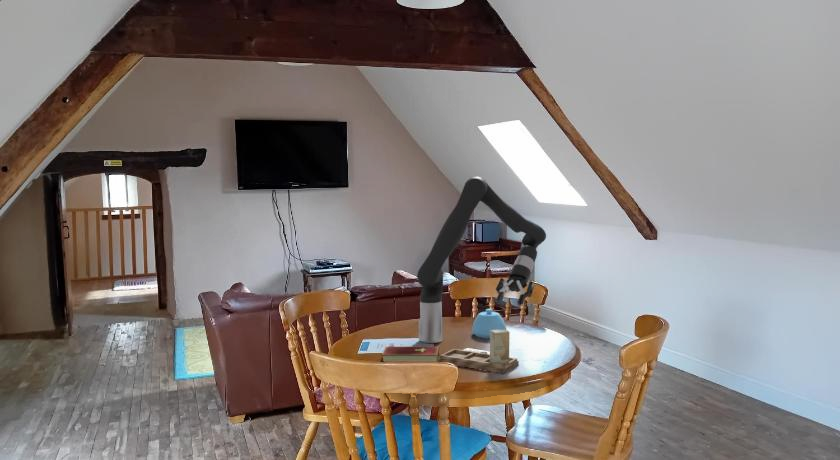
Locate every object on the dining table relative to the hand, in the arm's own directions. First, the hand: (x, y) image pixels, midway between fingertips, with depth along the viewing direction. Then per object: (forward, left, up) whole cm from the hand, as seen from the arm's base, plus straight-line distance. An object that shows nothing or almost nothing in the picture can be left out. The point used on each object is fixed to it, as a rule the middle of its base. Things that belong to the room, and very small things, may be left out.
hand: (509, 303), depth 244 cm
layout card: (-14, 0, -22) cm, 26 cm away
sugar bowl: (-23, +29, -22) cm, 43 cm away
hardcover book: (-33, -20, -22) cm, 44 cm away
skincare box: (+2, -12, -20) cm, 24 cm away
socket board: (-7, -12, -22) cm, 26 cm away
